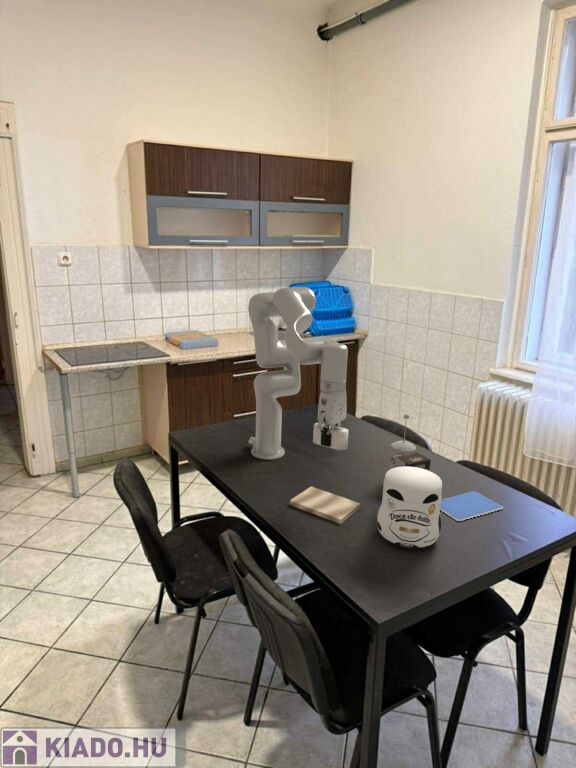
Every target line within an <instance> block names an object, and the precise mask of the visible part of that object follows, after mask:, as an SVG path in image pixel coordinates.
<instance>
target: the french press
mask: <svg viewBox="0 0 576 768" xmlns="http://www.w3.org/2000/svg"><path fill="white" fill-rule="evenodd" d="M403 418H404V419H405V421H407V419H410V415H409V414H408V413H407V414H406V413H405V414H403ZM406 427H407V422H405V426H404V431H406V429H407V428H406ZM405 438H406V432H404V435H403V440H397V441H394V442H392V443H391V448H392V449H393V450H394V451H397V452H399V453H394V454H391V458H390V460H389V470H390V469H392V468H394V467H395V458H396V457H397V456H402V455H408V454H412V452H413V453H416V452H415V451H416V449H417V447H416V445H414V444H413V443H412V442H410V441H406V439H405ZM389 470H388V471H389Z"/></svg>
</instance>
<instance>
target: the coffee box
mask: <svg viewBox="0 0 576 768" xmlns="http://www.w3.org/2000/svg"><path fill="white" fill-rule="evenodd" d="M407 454H408V455H402V456H397V457H396V458H395V461H394V462H395V464H394V465H395V467H394V468H396V467H406V466H408V467H417V468H421V469H425V470H428V471H431V470H430V468H431V462H432V460H431V459H430V458H429V457H427V456H425V455H423V454H421V453H419V452H415V453H414V452H413V453H411V454H410V453H407Z"/></svg>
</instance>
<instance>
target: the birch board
mask: <svg viewBox="0 0 576 768" xmlns="http://www.w3.org/2000/svg"><path fill="white" fill-rule="evenodd" d="M289 505H290V506H292V507H295V508H297V509H299V510H302V511H305V512H308V513H311V514H314V515H316V516H318V517H321V518H324V519H326V520H328V521H331V522H334V523H337V524H338V525H339V524H340V525H341V524H343V523H344V522H345V521H346V520H348V518H350V517H351V516H353V514H355V513H356V512H357V511H358V510H360V508H361V503H360V502H357V501H354V500H351V499H348V498H346V497H344V496H340V495H337V494H334V493H332V492H330V491H325V490H322V489H320V488H317V487H314V486H310V487H308V488H306V489H305V490H304V491H302V492H301V493H299V494H297V495H296V496H294V497H293V498H291V499H290V500H289Z"/></svg>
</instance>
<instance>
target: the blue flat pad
mask: <svg viewBox="0 0 576 768" xmlns="http://www.w3.org/2000/svg"><path fill="white" fill-rule="evenodd" d="M502 509H503V510H504V507H503V506H502V505H500V504H499V503H497V502H495V501H493V500H492V499H489V498H488V497H486V496H485V495H483V494H481V493H479V492H477V491H474V490H472V491H469V492H465V493H462V494H458V495H455V496H454V495H453V496H451V497H447V498H442V499H441V503H440V510H441V511H442V512H441V511H440V512H441V513H443V512H444V513H445V514H444V513H443V514H444V515H446V514H447V515H448V517H449V516H450V517H452V518H453V519H455V520H456V521H463V520H466V519H469V520H471V519H470V518H472V519H474V518H473V517H476V518H478V517H477V516H479V517H481V516H480V515H482V516H485V515H489V514H491V512H492V513H495V511H496V512H498V510H499V511H503V510H502ZM488 513H489V514H488ZM484 514H485V515H484ZM447 515H446V516H447ZM450 517H449V518H450ZM452 518H451V519H452ZM453 519H452V520H453ZM455 520H454V521H455ZM456 521H455V522H456ZM466 521H467V520H466ZM463 522H464V521H463Z"/></svg>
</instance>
